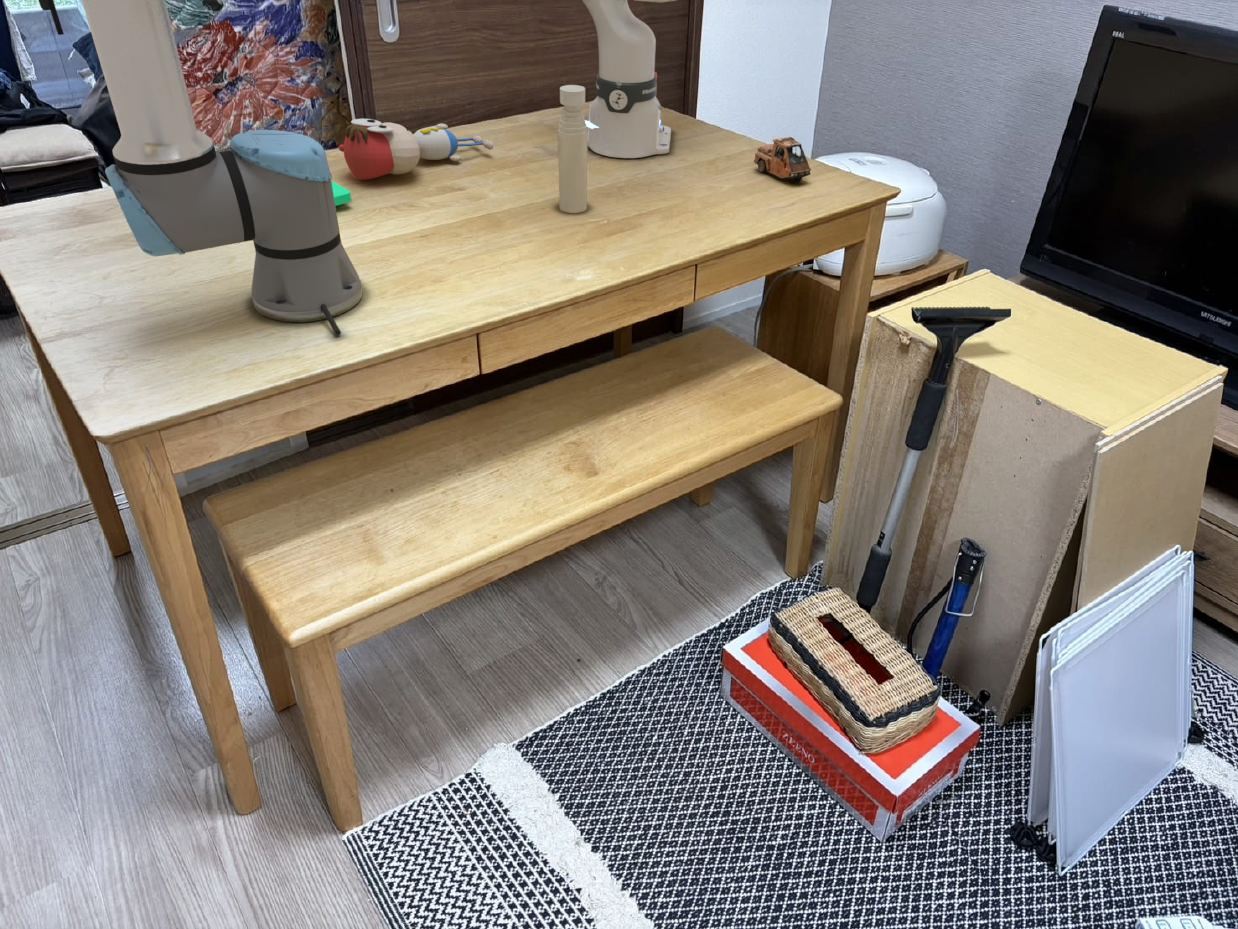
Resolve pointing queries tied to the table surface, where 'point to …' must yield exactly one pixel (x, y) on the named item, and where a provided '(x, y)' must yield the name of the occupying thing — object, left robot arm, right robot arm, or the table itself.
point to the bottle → (572, 160)
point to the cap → (572, 95)
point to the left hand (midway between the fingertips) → (108, 29)
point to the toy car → (782, 160)
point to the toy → (397, 147)
